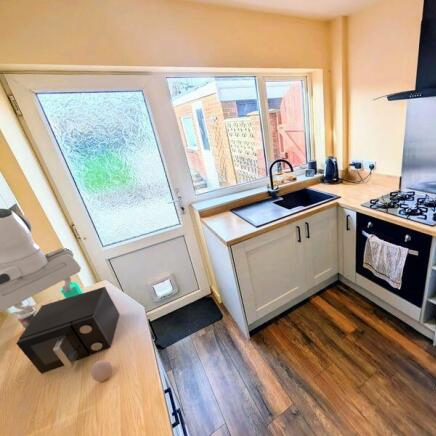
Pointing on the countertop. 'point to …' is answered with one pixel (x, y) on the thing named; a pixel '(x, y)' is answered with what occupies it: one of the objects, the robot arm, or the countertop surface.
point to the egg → (101, 370)
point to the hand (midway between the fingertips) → (50, 300)
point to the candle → (75, 290)
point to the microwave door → (54, 348)
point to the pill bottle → (25, 317)
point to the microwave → (80, 318)
